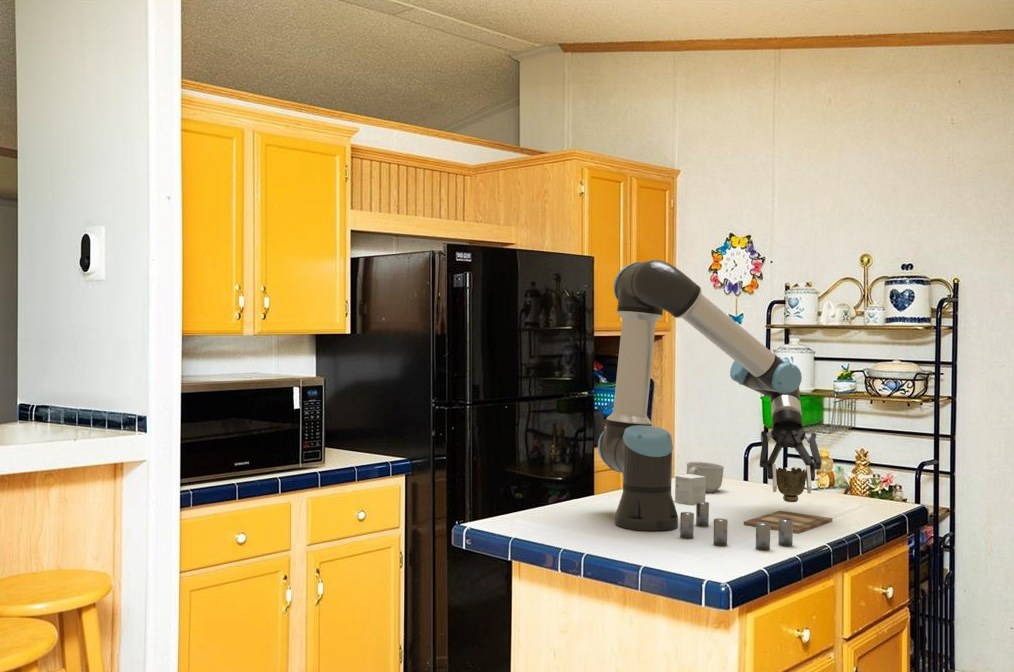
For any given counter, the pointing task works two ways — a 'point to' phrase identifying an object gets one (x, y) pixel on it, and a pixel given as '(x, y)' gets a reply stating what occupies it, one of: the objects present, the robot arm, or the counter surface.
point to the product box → (690, 488)
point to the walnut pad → (799, 520)
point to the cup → (791, 483)
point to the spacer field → (722, 525)
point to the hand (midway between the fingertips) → (792, 489)
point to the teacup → (707, 473)
